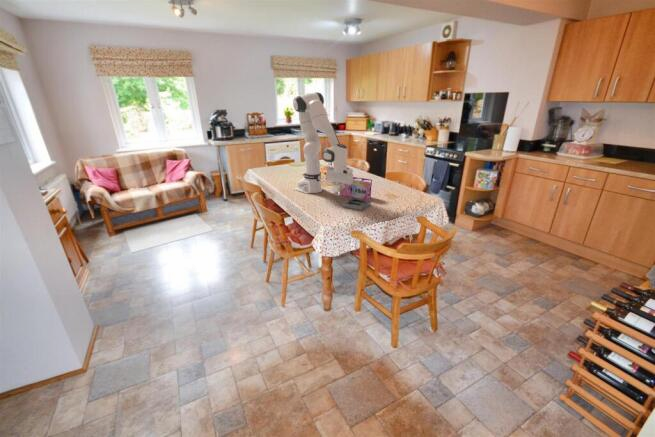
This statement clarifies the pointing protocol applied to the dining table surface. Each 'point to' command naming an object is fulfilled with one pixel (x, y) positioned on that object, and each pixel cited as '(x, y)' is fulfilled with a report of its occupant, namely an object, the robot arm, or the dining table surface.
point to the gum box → (358, 188)
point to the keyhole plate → (356, 204)
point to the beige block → (337, 188)
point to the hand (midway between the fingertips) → (338, 188)
